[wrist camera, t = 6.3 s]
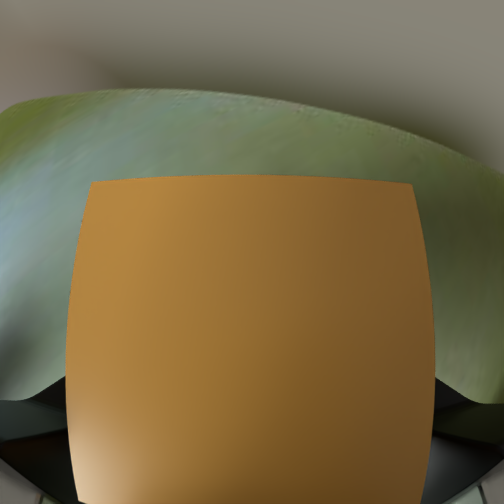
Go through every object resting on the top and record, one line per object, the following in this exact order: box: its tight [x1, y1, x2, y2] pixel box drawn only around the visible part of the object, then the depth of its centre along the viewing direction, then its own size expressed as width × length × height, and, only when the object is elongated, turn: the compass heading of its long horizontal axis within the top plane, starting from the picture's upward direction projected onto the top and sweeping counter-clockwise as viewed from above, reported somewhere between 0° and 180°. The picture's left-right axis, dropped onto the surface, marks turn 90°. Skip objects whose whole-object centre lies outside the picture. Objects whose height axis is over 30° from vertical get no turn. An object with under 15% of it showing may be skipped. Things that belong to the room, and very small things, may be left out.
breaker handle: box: [66, 175, 435, 504], centre depth 8 cm, size 4×4×11 cm
